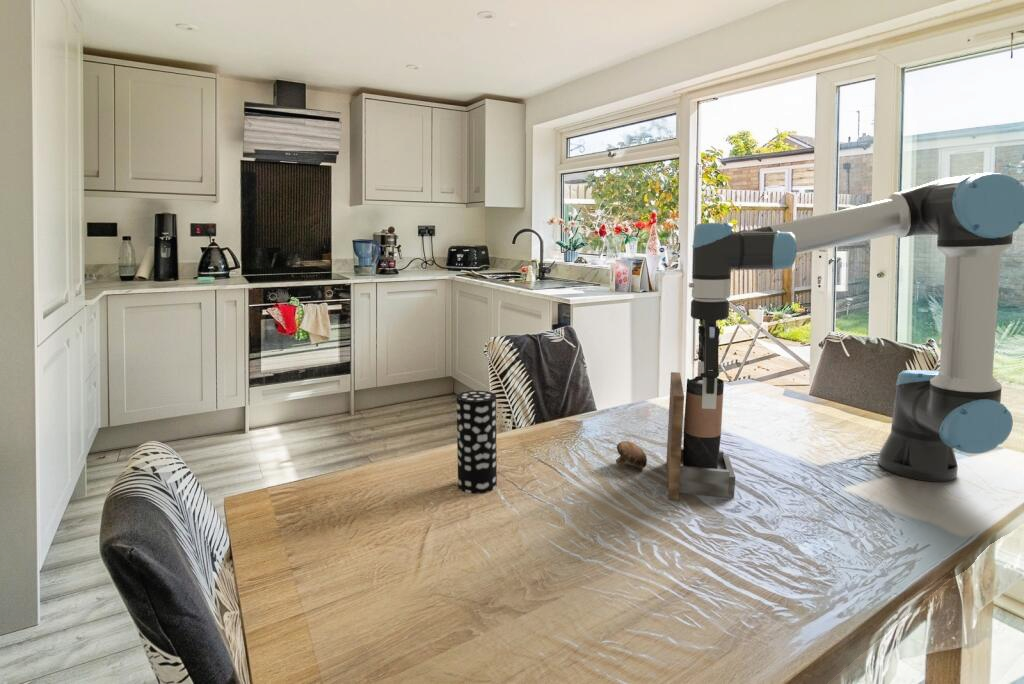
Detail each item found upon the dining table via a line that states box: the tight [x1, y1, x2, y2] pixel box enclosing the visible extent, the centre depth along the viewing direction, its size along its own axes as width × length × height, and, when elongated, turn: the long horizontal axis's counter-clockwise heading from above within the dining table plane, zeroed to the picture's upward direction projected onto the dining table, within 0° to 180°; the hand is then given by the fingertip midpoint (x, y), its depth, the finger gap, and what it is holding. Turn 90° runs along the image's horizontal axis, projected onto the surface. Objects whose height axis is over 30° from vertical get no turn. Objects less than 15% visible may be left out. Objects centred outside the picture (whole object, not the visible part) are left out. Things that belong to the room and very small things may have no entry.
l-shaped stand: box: [665, 371, 736, 501], centre depth 132 cm, size 13×20×22 cm, turn 167°
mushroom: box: [615, 440, 648, 469], centre depth 142 cm, size 8×8×6 cm
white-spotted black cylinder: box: [456, 390, 498, 495], centre depth 131 cm, size 8×8×20 cm
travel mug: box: [682, 375, 725, 469], centre depth 131 cm, size 8×8×20 cm
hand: (706, 399), depth 130 cm, fingers open, 13 cm apart
